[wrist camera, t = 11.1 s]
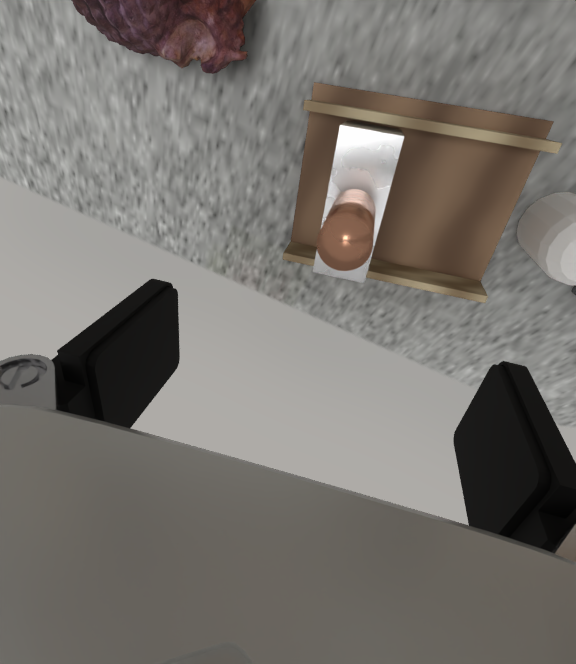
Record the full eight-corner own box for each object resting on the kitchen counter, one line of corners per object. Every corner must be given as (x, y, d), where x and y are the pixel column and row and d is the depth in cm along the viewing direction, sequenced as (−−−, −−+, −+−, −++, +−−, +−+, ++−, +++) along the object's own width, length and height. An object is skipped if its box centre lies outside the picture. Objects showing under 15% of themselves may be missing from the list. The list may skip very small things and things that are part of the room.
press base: (545, 120, 27) (571, 124, 24) (469, 291, 35) (479, 314, 31) (317, 83, 29) (307, 81, 26) (291, 253, 37) (281, 271, 33)
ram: (401, 129, 28) (411, 149, 17) (367, 255, 34) (359, 330, 23) (348, 120, 29) (325, 134, 18) (323, 246, 34) (294, 315, 23)
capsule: (554, 178, 29) (604, 202, 23) (609, 214, 30) (674, 249, 23) (501, 236, 32) (531, 272, 25) (551, 268, 33) (594, 312, 26)
